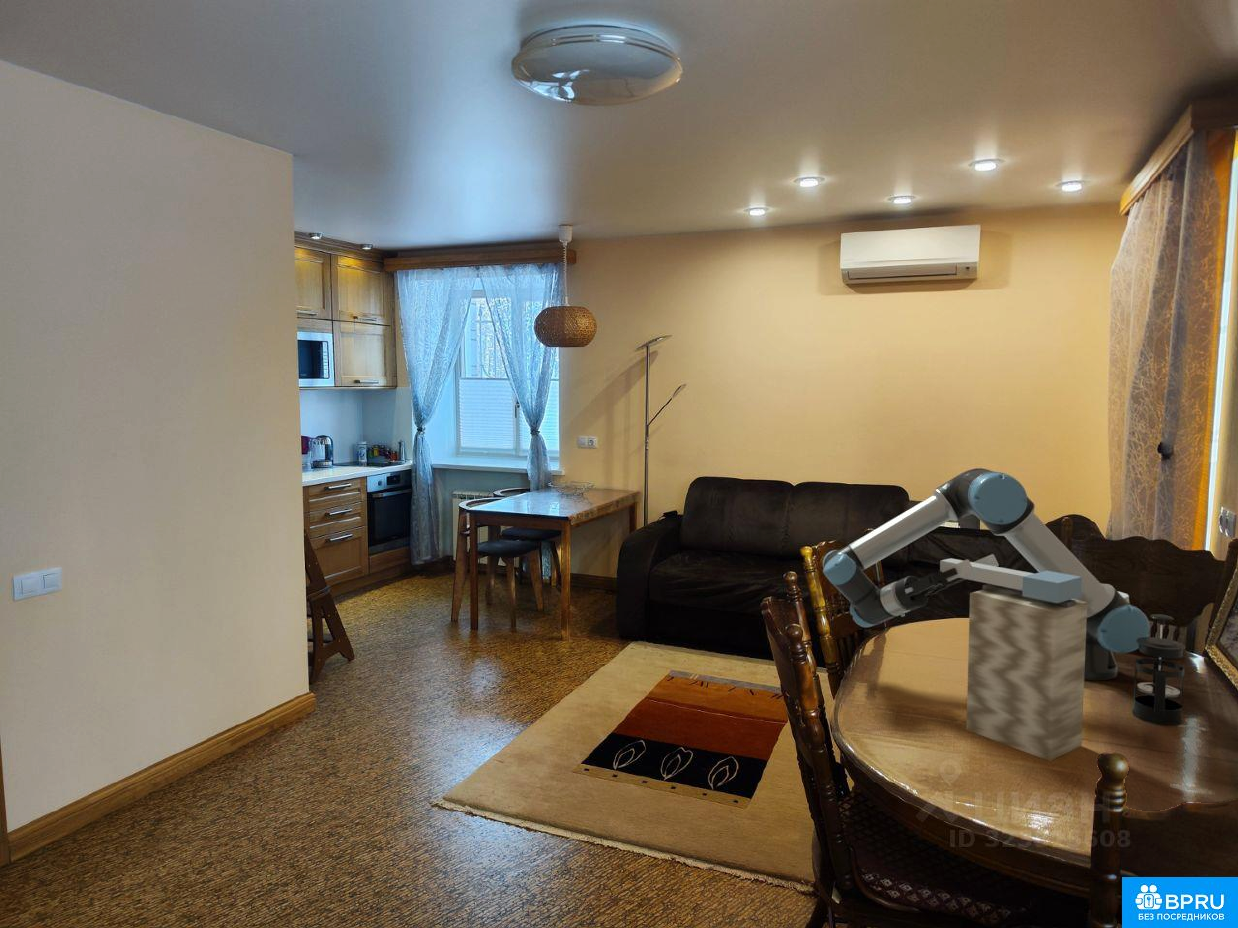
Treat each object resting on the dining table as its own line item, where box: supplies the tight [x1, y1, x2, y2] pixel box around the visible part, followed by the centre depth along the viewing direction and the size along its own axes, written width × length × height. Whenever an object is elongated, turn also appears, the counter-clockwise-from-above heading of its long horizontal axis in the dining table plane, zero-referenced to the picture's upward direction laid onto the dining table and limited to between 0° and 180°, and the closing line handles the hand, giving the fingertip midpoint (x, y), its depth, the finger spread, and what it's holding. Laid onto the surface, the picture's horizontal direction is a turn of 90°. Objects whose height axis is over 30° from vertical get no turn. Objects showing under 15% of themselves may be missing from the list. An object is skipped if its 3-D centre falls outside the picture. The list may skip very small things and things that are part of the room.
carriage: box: [939, 557, 1082, 603], centre depth 169 cm, size 28×9×4 cm, turn 33°
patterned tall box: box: [966, 583, 1087, 762], centre depth 166 cm, size 18×12×31 cm, turn 33°
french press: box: [1131, 613, 1186, 727], centre depth 176 cm, size 12×9×23 cm
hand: (982, 562), depth 173 cm, fingers open, 9 cm apart
